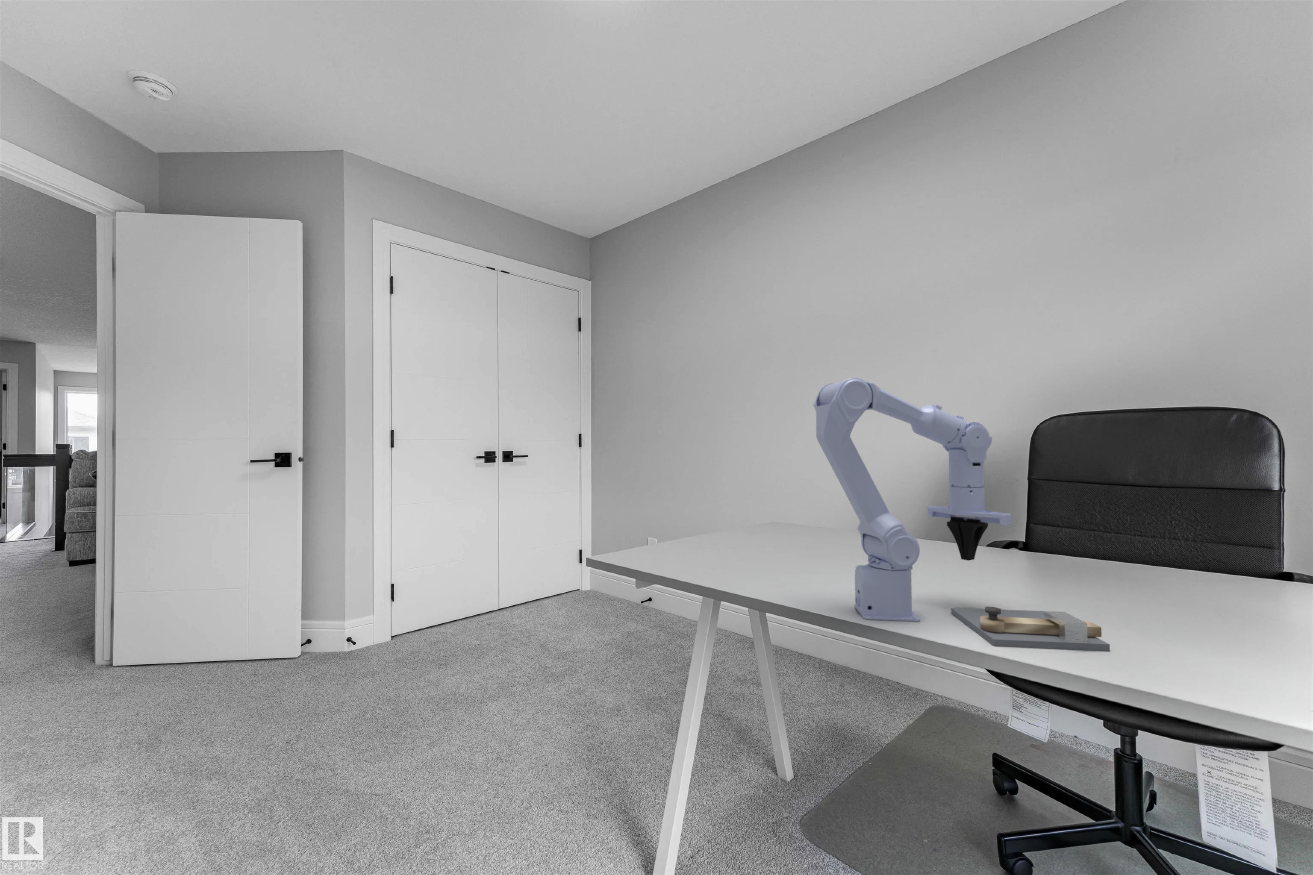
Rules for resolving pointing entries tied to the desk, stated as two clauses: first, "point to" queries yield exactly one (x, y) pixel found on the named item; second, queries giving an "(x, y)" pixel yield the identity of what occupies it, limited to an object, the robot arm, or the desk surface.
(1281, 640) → the desk surface
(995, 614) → the tan latch lever
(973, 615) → the base plate
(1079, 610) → the desk surface
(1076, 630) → the keeper
